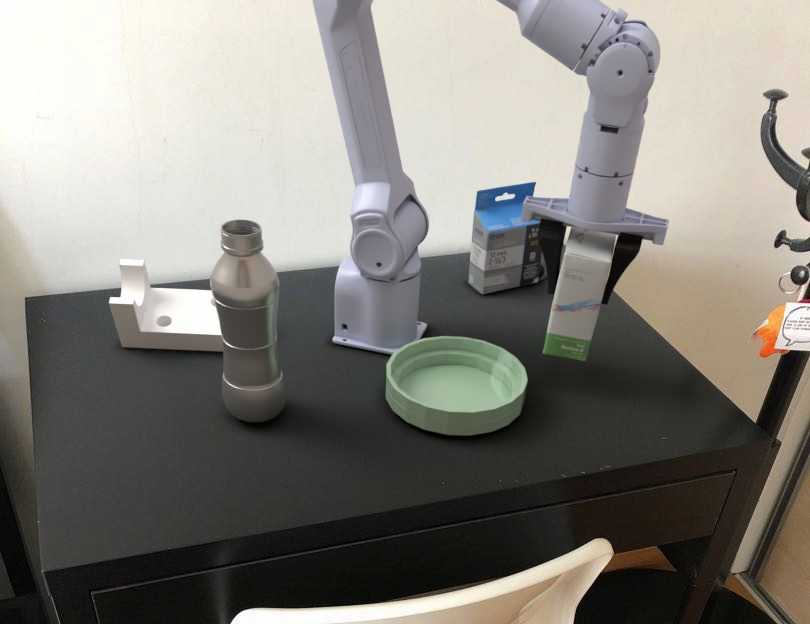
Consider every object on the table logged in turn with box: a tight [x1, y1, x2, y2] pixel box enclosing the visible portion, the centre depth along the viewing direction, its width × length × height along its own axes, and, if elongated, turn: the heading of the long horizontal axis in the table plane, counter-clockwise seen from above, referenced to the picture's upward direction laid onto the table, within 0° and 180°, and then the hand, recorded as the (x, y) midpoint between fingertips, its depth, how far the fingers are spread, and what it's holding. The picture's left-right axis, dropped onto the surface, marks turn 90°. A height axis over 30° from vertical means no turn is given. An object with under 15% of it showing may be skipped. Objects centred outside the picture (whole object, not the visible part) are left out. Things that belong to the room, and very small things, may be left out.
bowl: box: [385, 335, 529, 436], centre depth 97 cm, size 15×15×4 cm
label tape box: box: [467, 181, 543, 295], centre depth 115 cm, size 9×4×12 cm, turn 118°
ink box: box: [542, 227, 617, 362], centre depth 97 cm, size 9×5×12 cm, turn 167°
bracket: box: [108, 258, 223, 352], centre depth 103 cm, size 13×7×8 cm, turn 90°
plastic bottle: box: [209, 219, 287, 423], centre depth 88 cm, size 6×7×20 cm
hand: (578, 295), depth 97 cm, fingers closed on ink box, 5 cm apart
